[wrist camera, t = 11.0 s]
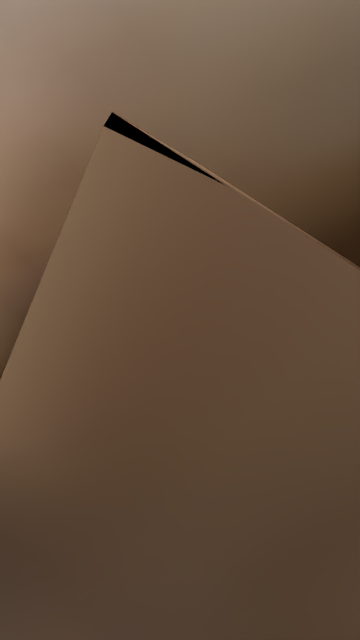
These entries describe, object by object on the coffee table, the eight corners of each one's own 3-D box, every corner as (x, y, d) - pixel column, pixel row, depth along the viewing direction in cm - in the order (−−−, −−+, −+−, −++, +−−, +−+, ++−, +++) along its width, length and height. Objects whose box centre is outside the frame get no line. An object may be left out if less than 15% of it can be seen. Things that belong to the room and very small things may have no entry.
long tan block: (408, 299, 7) (918, 630, 2) (112, 607, 12) (21, 899, 7) (202, 165, 6) (58, 79, 1) (-4, 541, 12) (-182, 794, 7)
